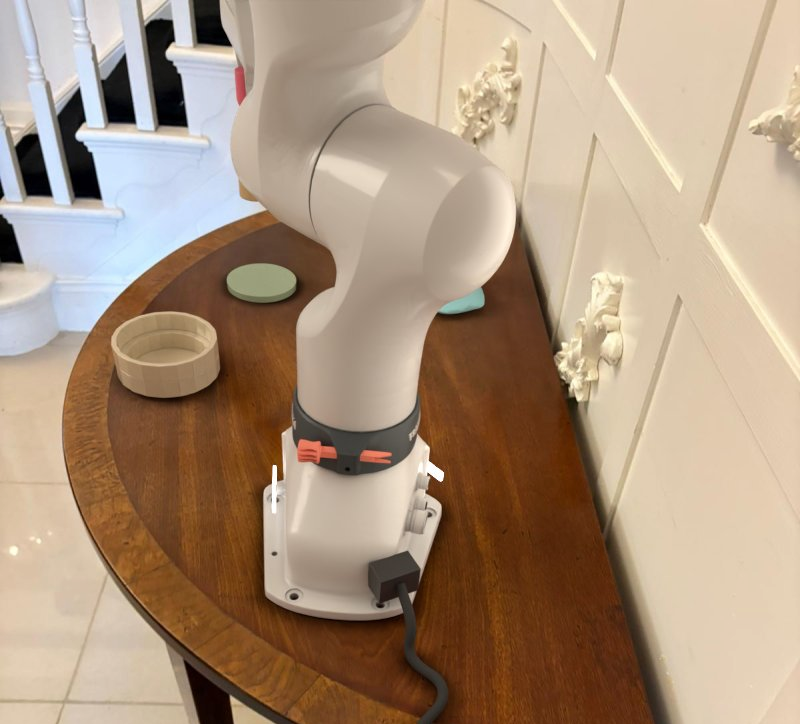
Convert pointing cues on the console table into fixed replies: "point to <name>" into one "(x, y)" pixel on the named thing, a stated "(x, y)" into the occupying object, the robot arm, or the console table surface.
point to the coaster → (261, 283)
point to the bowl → (166, 354)
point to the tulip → (240, 97)
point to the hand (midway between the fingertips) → (250, 92)
